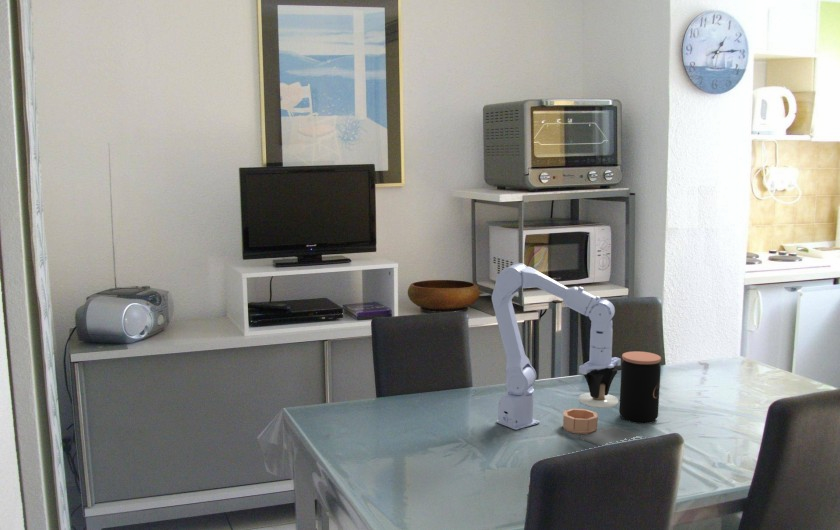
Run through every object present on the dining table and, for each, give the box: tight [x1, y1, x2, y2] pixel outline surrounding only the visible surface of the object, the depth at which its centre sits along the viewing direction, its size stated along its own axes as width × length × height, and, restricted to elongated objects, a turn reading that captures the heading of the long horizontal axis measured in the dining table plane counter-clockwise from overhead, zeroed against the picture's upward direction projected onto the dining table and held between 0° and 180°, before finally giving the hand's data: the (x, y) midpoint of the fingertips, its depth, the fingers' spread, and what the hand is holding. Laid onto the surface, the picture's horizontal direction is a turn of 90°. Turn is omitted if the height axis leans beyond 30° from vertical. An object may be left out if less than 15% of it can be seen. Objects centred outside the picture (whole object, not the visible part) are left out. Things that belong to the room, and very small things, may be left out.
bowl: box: [562, 408, 599, 435], centre depth 231 cm, size 9×9×4 cm
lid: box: [578, 383, 620, 409], centre depth 226 cm, size 10×10×5 cm
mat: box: [578, 425, 645, 447], centre depth 224 cm, size 14×11×1 cm
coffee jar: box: [618, 350, 662, 424], centre depth 239 cm, size 11×11×18 cm
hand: (599, 395), depth 226 cm, fingers closed on lid, 3 cm apart
